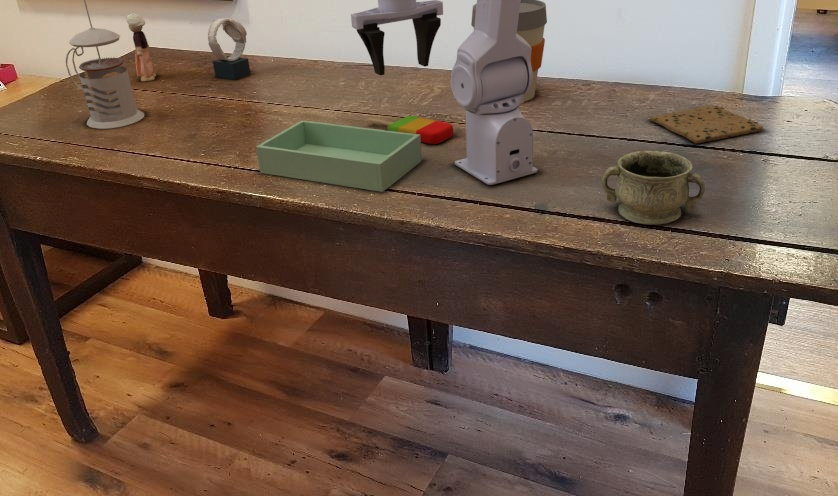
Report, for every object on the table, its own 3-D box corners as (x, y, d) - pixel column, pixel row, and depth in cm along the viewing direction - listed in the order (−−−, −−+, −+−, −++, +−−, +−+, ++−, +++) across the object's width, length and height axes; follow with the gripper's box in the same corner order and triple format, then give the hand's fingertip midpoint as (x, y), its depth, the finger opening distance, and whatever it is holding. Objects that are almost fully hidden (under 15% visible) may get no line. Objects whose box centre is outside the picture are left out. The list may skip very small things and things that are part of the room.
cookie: (712, 107, 128) (713, 101, 127) (764, 130, 118) (765, 124, 118) (647, 119, 125) (648, 113, 124) (695, 144, 115) (696, 137, 114)
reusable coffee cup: (543, 106, 133) (546, 13, 125) (468, 106, 135) (466, 14, 127) (546, 84, 144) (548, -4, 136) (476, 84, 146) (475, -2, 138)
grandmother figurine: (138, 75, 164) (122, 11, 157) (157, 72, 165) (142, 8, 158) (138, 85, 158) (122, 18, 151) (158, 82, 158) (143, 16, 152)
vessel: (593, 221, 96) (597, 172, 93) (606, 192, 103) (609, 145, 100) (698, 232, 92) (705, 182, 89) (703, 201, 99) (710, 153, 96)
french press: (121, 130, 134) (79, -28, 121) (65, 126, 138) (19, -29, 125) (155, 111, 142) (120, -39, 129) (102, 107, 146) (62, -39, 133)
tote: (421, 161, 116) (420, 134, 113) (382, 192, 107) (380, 164, 105) (305, 145, 124) (302, 120, 122) (260, 172, 115) (255, 146, 113)
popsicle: (435, 146, 120) (434, 134, 119) (360, 130, 128) (359, 118, 127) (456, 135, 124) (456, 123, 123) (382, 120, 132) (381, 109, 131)
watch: (257, 71, 161) (248, 15, 156) (228, 82, 156) (218, 24, 150) (237, 68, 164) (228, 13, 158) (208, 79, 159) (197, 21, 153)
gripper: (425, -34, 123) (430, 56, 130) (339, -21, 118) (348, 72, 125) (448, -28, 118) (451, 65, 125) (358, -14, 112) (367, 82, 119)
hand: (401, 69), depth 124 cm, fingers open, 7 cm apart
